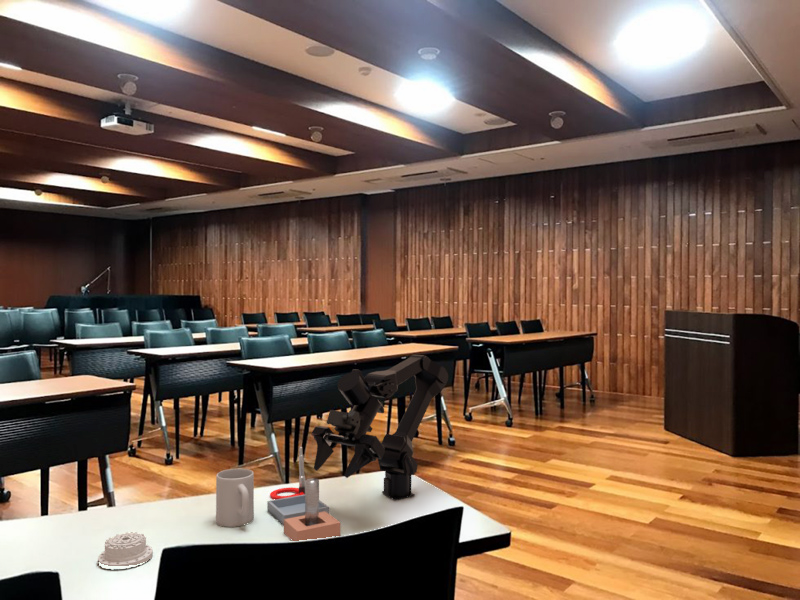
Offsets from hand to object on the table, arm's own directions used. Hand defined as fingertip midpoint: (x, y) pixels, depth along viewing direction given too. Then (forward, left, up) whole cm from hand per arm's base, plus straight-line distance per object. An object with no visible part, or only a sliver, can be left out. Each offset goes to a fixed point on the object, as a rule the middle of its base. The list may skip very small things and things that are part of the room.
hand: (330, 473), depth 144 cm
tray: (+3, -11, -12) cm, 16 cm away
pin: (+5, +2, -12) cm, 14 cm away
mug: (+17, -13, -12) cm, 25 cm away
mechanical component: (+42, -5, -13) cm, 45 cm away
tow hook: (0, -25, -12) cm, 28 cm away
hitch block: (+5, +2, -12) cm, 14 cm away
